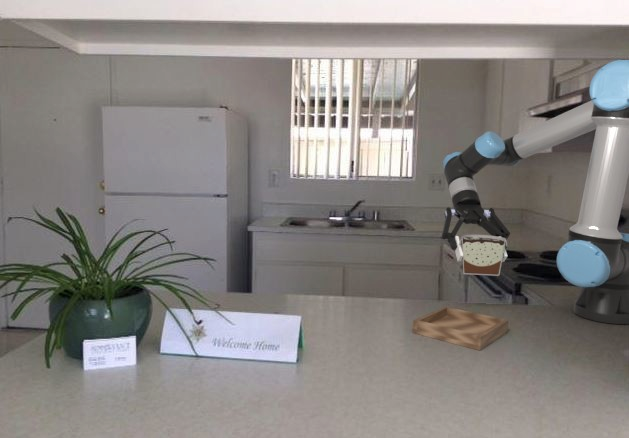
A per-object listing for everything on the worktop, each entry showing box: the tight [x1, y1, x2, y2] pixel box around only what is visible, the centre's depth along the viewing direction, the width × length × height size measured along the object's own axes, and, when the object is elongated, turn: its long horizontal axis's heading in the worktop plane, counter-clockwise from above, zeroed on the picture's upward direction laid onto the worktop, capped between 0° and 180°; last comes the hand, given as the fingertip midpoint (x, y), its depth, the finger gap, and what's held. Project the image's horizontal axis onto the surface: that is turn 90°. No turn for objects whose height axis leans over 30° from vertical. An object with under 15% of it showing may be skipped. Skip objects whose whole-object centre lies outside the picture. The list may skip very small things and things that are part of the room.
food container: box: [459, 234, 508, 277], centre depth 135 cm, size 12×6×10 cm, turn 86°
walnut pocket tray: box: [412, 306, 509, 351], centre depth 119 cm, size 16×16×3 cm
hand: (482, 259), depth 133 cm, fingers closed on food container, 11 cm apart
